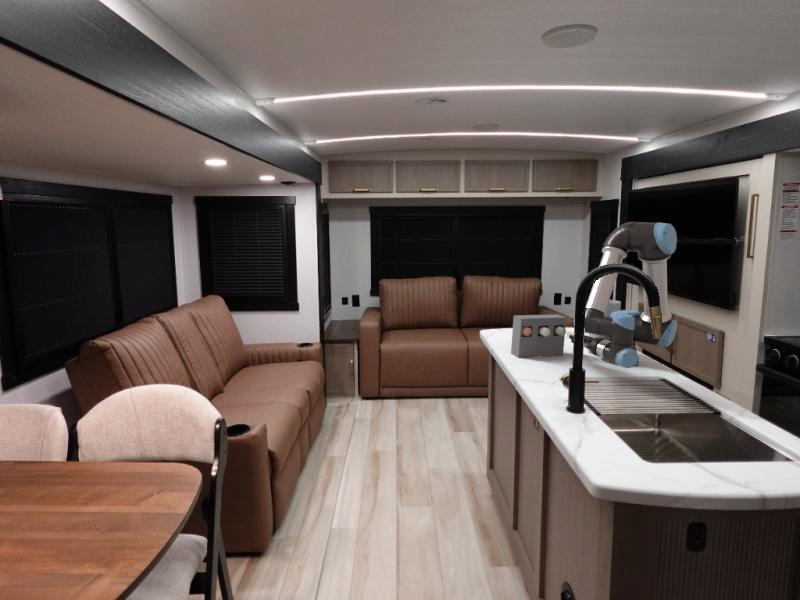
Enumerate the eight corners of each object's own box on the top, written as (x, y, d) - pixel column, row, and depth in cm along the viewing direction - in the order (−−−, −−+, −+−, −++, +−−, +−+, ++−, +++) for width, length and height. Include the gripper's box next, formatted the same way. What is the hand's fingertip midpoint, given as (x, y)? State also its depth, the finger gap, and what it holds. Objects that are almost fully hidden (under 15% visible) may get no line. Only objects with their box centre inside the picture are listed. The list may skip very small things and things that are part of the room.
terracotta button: (526, 333, 226) (527, 325, 225) (531, 335, 222) (531, 327, 221) (519, 333, 225) (519, 325, 224) (523, 336, 221) (524, 327, 220)
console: (554, 351, 235) (557, 314, 232) (563, 355, 229) (566, 317, 226) (511, 353, 229) (513, 315, 226) (518, 357, 222) (521, 318, 219)
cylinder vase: (612, 357, 227) (618, 304, 222) (584, 353, 234) (589, 301, 229) (617, 352, 237) (623, 301, 233) (590, 347, 244) (595, 298, 240)
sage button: (560, 333, 227) (561, 325, 227) (565, 335, 224) (566, 327, 223) (553, 334, 226) (554, 326, 226) (558, 336, 223) (559, 327, 222)
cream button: (545, 334, 225) (545, 326, 225) (550, 336, 221) (550, 328, 221) (537, 334, 224) (538, 326, 224) (542, 336, 220) (543, 328, 220)
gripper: (588, 358, 195) (554, 343, 217) (616, 356, 198) (580, 342, 221) (590, 340, 193) (556, 326, 216) (618, 338, 197) (581, 325, 219)
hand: (568, 334), depth 218 cm, fingers closed
